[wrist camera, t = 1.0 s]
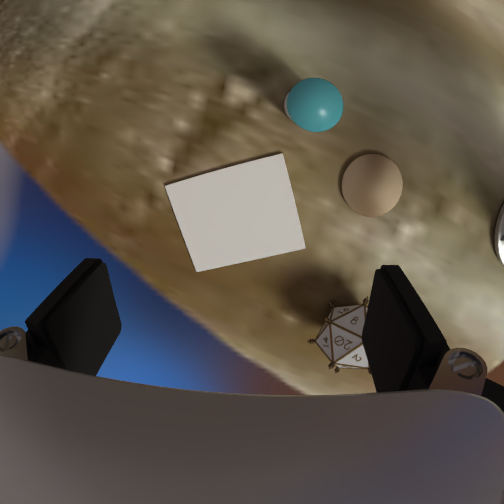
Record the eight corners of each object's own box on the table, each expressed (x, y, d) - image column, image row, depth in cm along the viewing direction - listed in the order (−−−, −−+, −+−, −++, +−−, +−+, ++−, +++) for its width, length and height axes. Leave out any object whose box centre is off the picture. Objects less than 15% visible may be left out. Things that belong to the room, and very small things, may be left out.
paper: (282, 153, 29) (282, 153, 29) (305, 247, 33) (305, 248, 33) (165, 185, 31) (164, 186, 31) (197, 270, 35) (196, 272, 35)
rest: (396, 148, 28) (397, 149, 28) (404, 208, 31) (405, 210, 30) (335, 160, 29) (336, 160, 29) (347, 221, 32) (348, 222, 31)
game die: (327, 306, 41) (283, 359, 35) (355, 265, 35) (308, 322, 29) (380, 347, 38) (343, 406, 32) (416, 312, 32) (383, 379, 26)
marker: (317, 83, 26) (335, 73, 18) (327, 120, 28) (348, 126, 20) (278, 91, 27) (280, 84, 19) (288, 128, 28) (295, 137, 20)
